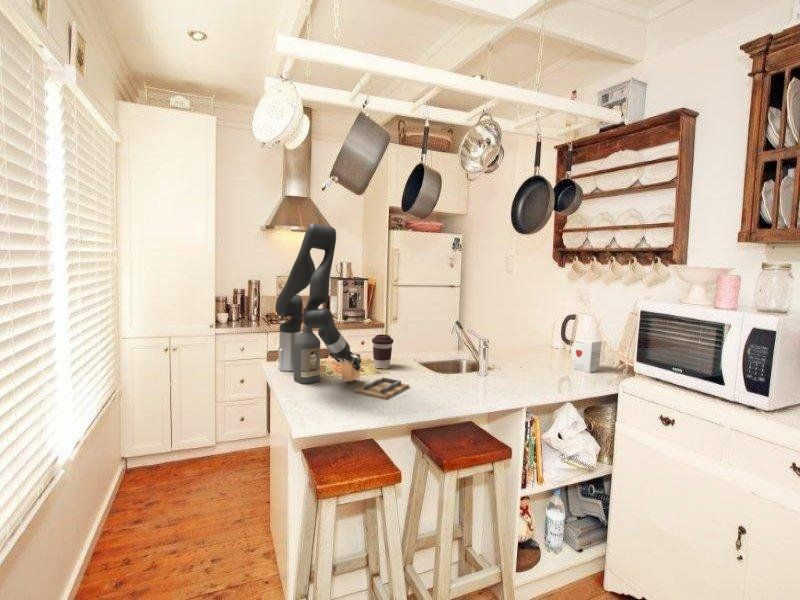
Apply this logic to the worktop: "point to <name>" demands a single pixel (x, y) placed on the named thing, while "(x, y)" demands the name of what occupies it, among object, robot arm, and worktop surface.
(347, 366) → the block
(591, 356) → the supplement box
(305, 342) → the liquor
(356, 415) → the worktop surface
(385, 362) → the coffee cup
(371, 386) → the board
